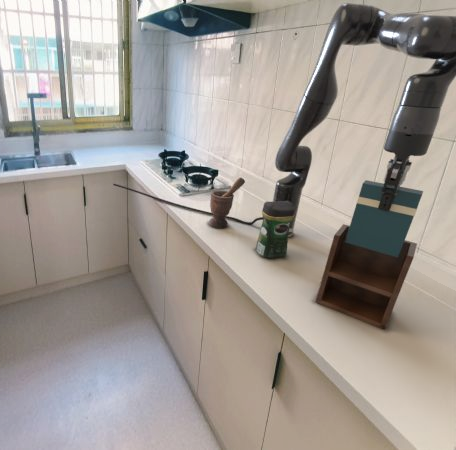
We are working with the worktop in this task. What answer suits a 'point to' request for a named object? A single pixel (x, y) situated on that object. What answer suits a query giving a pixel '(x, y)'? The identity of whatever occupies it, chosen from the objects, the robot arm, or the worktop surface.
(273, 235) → the coffee jar
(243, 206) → the worktop surface
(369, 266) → the bookshelf
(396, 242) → the book
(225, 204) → the mortar and pestle
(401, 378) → the worktop surface
